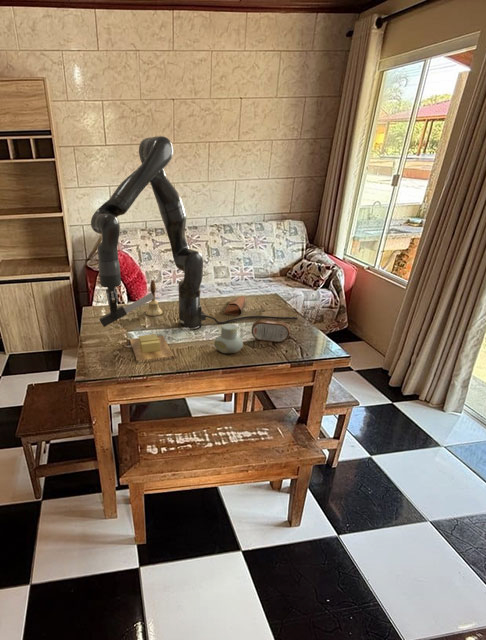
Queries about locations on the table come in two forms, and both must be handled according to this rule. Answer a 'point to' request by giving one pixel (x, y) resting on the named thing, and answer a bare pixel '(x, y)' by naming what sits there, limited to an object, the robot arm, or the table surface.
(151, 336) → the butter
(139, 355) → the board
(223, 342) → the air freshener
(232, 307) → the sunglasses case
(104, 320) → the knife
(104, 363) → the table surface
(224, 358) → the table surface
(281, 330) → the tin
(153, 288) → the hand bell
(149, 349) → the butter slice
